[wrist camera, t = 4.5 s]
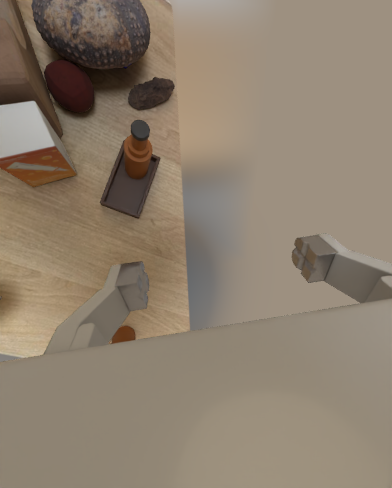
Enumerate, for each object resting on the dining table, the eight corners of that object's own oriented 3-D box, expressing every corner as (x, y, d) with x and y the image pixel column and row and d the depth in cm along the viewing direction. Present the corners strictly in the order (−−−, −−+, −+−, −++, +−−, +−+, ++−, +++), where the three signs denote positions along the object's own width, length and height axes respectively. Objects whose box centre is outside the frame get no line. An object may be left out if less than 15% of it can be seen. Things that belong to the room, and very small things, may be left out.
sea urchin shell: (28, 66, 32) (-20, -43, 24) (65, 37, 42) (40, -45, 34) (148, 81, 34) (142, -12, 26) (154, 51, 45) (151, -23, 37)
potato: (76, 127, 39) (65, 103, 32) (43, 91, 37) (25, 59, 31) (105, 107, 41) (101, 81, 34) (75, 72, 39) (64, 37, 32)
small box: (33, 188, 37) (-14, 162, 25) (16, 154, 36) (-42, 110, 24) (78, 175, 39) (56, 145, 27) (64, 144, 38) (33, 98, 26)
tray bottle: (126, 179, 42) (124, 144, 27) (123, 157, 42) (120, 109, 26) (148, 179, 43) (158, 146, 28) (146, 158, 43) (155, 113, 28)
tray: (138, 218, 43) (139, 217, 41) (101, 204, 41) (99, 202, 38) (158, 162, 45) (160, 157, 42) (124, 145, 42) (123, 139, 40)
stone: (122, 94, 42) (135, 117, 43) (121, 86, 40) (135, 110, 41) (166, 76, 44) (177, 98, 45) (168, 68, 42) (179, 91, 43)
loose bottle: (113, 349, 42) (105, 411, 27) (111, 328, 42) (101, 378, 27) (136, 344, 44) (140, 399, 28) (133, 323, 43) (136, 368, 28)
